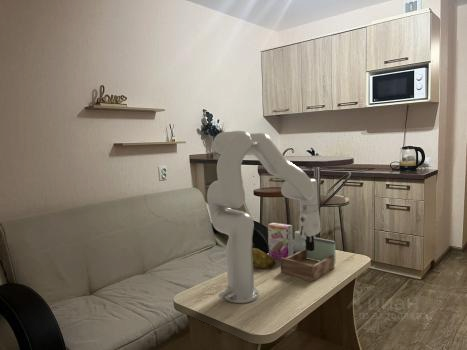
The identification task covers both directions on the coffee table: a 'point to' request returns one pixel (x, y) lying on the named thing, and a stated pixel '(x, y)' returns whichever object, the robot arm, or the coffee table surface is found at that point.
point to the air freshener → (298, 242)
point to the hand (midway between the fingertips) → (310, 250)
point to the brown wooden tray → (306, 266)
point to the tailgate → (322, 249)
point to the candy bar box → (280, 240)
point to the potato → (262, 259)
